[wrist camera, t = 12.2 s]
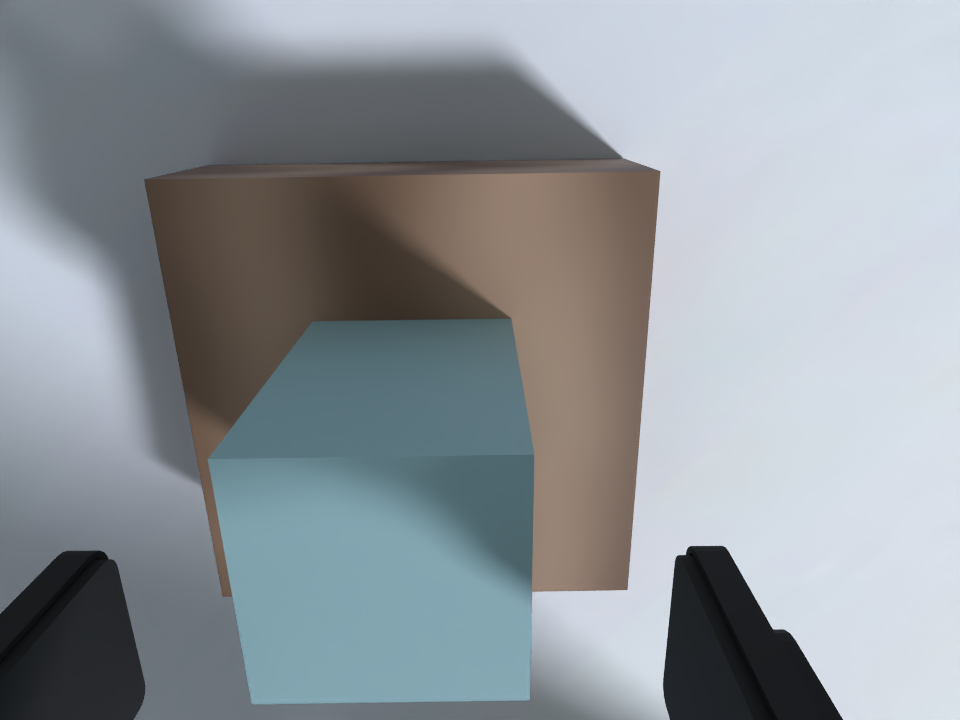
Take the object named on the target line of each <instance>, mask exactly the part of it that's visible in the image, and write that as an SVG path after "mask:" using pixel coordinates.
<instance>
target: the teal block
mask: <svg viewBox="0 0 960 720" xmlns="http://www.w3.org/2000/svg"><path fill="white" fill-rule="evenodd" d="M208 463H209V469H210V474H211V480H212V486H213V491H214V497H215V502H216V508H217V514H218V519H219V525H220V530H221V536H222V541H223V547H224V553H225V558H226V564H227V569H228V575H229V581H230V586H231V592H232V597H233V603H234V608H235V614H236V620H237V625H238V631H239V636H240V642H241V648H242V653H243V659H244V664H245V670H246V676H247V681H248V687H249V692H250V698H251V703H252V704H316V703H384V702H453V701H521V700H530V665H531V612H532V559H533V506H534V449H533V443H532V437H531V431H530V425H529V419H528V413H527V408H526V402H525V396H524V390H523V384H522V378H521V372H520V366H519V360H518V355H517V349H516V343H515V337H514V331H513V325H512V319H448V320H375V321H312V323H311V324H310V325H309V327H308V328H307V329H306V331H305V332H304V333H303V334H302V336H301V337H300V338H299V340H298V341H297V342H296V344H295V345H294V346H293V348H292V349H291V350H290V352H289V353H288V354H287V356H286V357H285V358H284V360H283V361H282V362H281V363H280V365H279V366H278V367H277V369H276V370H275V371H274V373H273V374H272V375H271V377H270V378H269V379H268V381H267V382H266V383H265V385H264V386H263V387H262V388H261V390H260V391H259V392H258V394H257V395H256V396H255V398H254V399H253V400H252V402H251V403H250V404H249V406H248V407H247V408H246V410H245V411H244V412H243V413H242V415H241V416H240V417H239V419H238V420H237V421H236V423H235V424H234V425H233V427H232V428H231V429H230V431H229V432H228V433H227V435H226V436H225V437H224V438H223V440H222V441H221V442H220V444H219V445H218V446H217V448H216V449H215V450H214V452H213V453H212V454H211V456H210V457H209V458H208Z"/></svg>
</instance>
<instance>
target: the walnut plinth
mask: <svg viewBox="0 0 960 720" xmlns="http://www.w3.org/2000/svg"><path fill="white" fill-rule="evenodd" d="M144 180H145V186H146V191H147V196H148V202H149V207H150V212H151V218H152V223H153V228H154V234H155V239H156V244H157V249H158V255H159V260H160V265H161V271H162V276H163V281H164V287H165V292H166V297H167V303H168V308H169V313H170V318H171V324H172V329H173V334H174V340H175V345H176V350H177V356H178V361H179V366H180V372H181V377H182V382H183V387H184V393H185V398H186V403H187V409H188V414H189V419H190V425H191V430H192V435H193V441H194V446H195V451H196V456H197V462H198V467H199V472H200V478H201V483H202V488H203V494H204V499H205V504H206V510H207V515H208V520H209V526H210V531H211V536H212V541H213V547H214V552H215V557H216V563H217V568H218V573H219V579H220V584H221V589H222V595H223V597H229V596H232V592H231V586H230V581H229V575H228V569H227V564H226V558H225V553H224V547H223V541H222V536H221V530H220V525H219V519H218V514H217V508H216V502H215V497H214V491H213V486H212V480H211V474H210V469H209V463H208V458H209V457H210V456H211V454H212V453H213V452H214V450H215V449H216V448H217V446H218V445H219V444H220V442H221V441H222V440H223V438H224V437H225V436H226V435H227V433H228V432H229V431H230V429H231V428H232V427H233V425H234V424H235V423H236V421H237V420H238V419H239V417H240V416H241V415H242V413H243V412H244V411H245V410H246V408H247V407H248V406H249V404H250V403H251V402H252V400H253V399H254V398H255V396H256V395H257V394H258V392H259V391H260V390H261V388H262V387H263V386H264V385H265V383H266V382H267V381H268V379H269V378H270V377H271V375H272V374H273V373H274V371H275V370H276V369H277V367H278V366H279V365H280V363H281V362H282V361H283V360H284V358H285V357H286V356H287V354H288V353H289V352H290V350H291V349H292V348H293V346H294V345H295V344H296V342H297V341H298V340H299V338H300V337H301V336H302V334H303V333H304V332H305V331H306V329H307V328H308V327H309V325H310V324H311V323H312V321H375V320H448V319H512V325H513V331H514V337H515V343H516V349H517V355H518V360H519V366H520V372H521V378H522V384H523V390H524V396H525V402H526V408H527V413H528V419H529V425H530V431H531V437H532V443H533V449H534V506H533V559H532V592H535V591H596V590H627V588H628V575H629V562H630V550H631V537H632V524H633V512H634V499H635V486H636V473H637V461H638V448H639V435H640V423H641V410H642V397H643V385H644V372H645V359H646V346H647V334H648V321H649V308H650V296H651V283H652V270H653V258H654V245H655V232H656V219H657V207H658V194H659V181H660V171H658V170H655V169H652V168H649V167H647V166H644V165H641V164H638V163H635V162H632V161H629V160H626V159H578V160H516V161H453V162H390V163H327V164H264V165H208V166H204V167H199V168H195V169H190V170H185V171H181V172H176V173H172V174H167V175H163V176H158V177H154V178H149V179H144Z"/></svg>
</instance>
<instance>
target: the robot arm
mask: <svg viewBox="0 0 960 720" xmlns="http://www.w3.org/2000/svg"><path fill="white" fill-rule="evenodd" d="M663 690H664V698H665V703H666V707H667V711H668V714H669V717H670V720H843V719H842V717H841V716H840V714H839V712H838V711H837V709H836V707H835V706H834V704H833V702H832V701H831V699H830V697H829V696H828V694H827V692H826V691H825V689H824V687H823V686H822V684H821V682H820V681H819V679H818V677H817V676H816V674H815V672H814V671H813V669H812V667H811V666H810V664H809V662H808V661H807V659H806V657H805V656H804V654H803V652H802V651H801V649H800V647H799V646H798V644H797V642H796V641H795V639H794V638H793V637H792V635H791V634H790V633H789V632H787V631H786V630H773V629H772V627H771V626H770V624H769V622H768V620H767V618H766V617H765V615H764V613H763V611H762V610H761V608H760V606H759V604H758V603H757V601H756V599H755V597H754V596H753V594H752V592H751V590H750V589H749V587H748V585H747V583H746V581H745V580H744V578H743V576H742V574H741V573H740V571H739V569H738V567H737V566H736V564H735V562H734V560H733V559H732V557H731V555H730V553H729V552H728V550H727V549H726V547H724V546H690V547H688V549H687V552H686V555H678V556H677V557H676V560H675V568H674V578H673V588H672V598H671V608H670V618H669V628H668V638H667V649H666V659H665V669H664V679H663ZM144 695H145V682H144V678H143V673H142V669H141V665H140V660H139V656H138V652H137V648H136V643H135V639H134V635H133V631H132V626H131V622H130V618H129V613H128V609H127V605H126V601H125V596H124V592H123V588H122V584H121V579H120V575H119V571H118V567H117V564H116V563H115V561H114V560H108V557H107V555H106V554H105V553H104V552H102V551H66V552H63V553H61V554H60V555H59V556H57V557H56V558H55V559H54V560H53V561H52V562H51V563H50V564H49V565H48V566H47V568H46V569H45V570H44V571H43V572H42V573H41V574H40V575H39V576H38V577H37V578H36V579H35V580H34V581H33V582H32V583H31V584H30V585H29V586H28V587H27V588H26V589H25V590H24V591H23V592H22V593H21V594H20V595H19V596H18V597H17V598H16V599H15V600H14V601H13V602H12V603H11V604H10V605H9V606H8V607H7V608H6V609H5V610H4V611H3V612H2V613H1V614H0V720H134V718H135V716H136V715H137V713H138V711H139V709H140V707H141V705H142V702H143V699H144Z"/></svg>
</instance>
